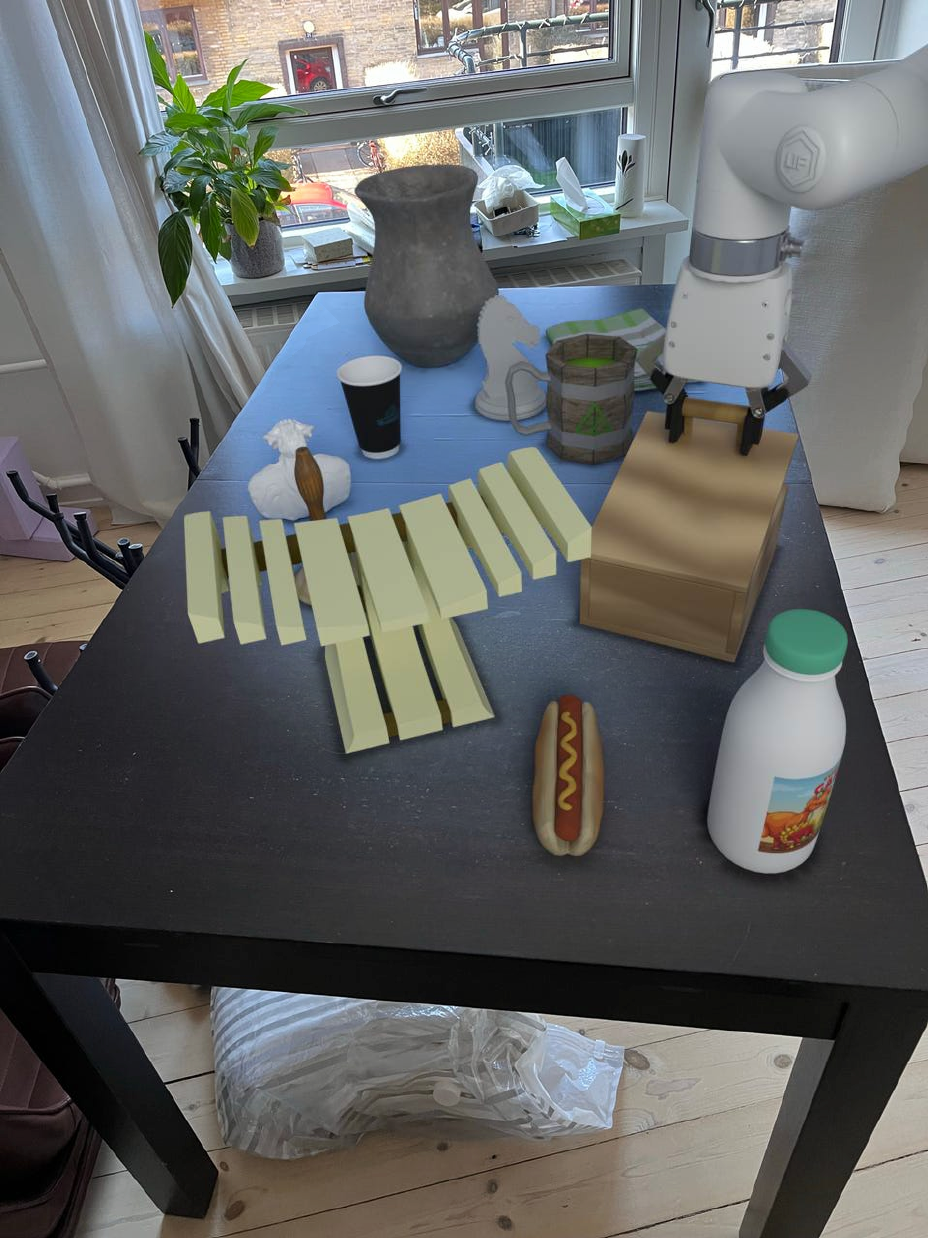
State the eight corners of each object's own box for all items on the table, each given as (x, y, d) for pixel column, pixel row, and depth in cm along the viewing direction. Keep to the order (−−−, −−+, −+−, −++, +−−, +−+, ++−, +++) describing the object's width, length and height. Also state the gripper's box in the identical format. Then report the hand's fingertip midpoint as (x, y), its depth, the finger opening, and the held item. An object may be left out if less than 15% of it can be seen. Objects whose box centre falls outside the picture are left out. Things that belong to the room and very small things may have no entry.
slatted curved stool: (529, 589, 90) (525, 431, 78) (586, 694, 78) (591, 526, 66) (233, 655, 85) (183, 498, 74) (245, 778, 73) (188, 613, 62)
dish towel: (588, 402, 120) (589, 378, 118) (541, 338, 137) (541, 315, 135) (707, 383, 122) (710, 358, 120) (646, 321, 139) (648, 299, 137)
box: (638, 520, 98) (643, 458, 93) (776, 548, 92) (789, 483, 87) (579, 623, 85) (580, 557, 80) (734, 663, 80) (746, 594, 75)
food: (605, 871, 64) (608, 830, 61) (529, 868, 65) (528, 826, 62) (602, 729, 75) (604, 687, 71) (537, 727, 75) (536, 685, 72)
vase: (395, 397, 125) (371, 209, 109) (357, 349, 139) (331, 176, 123) (522, 366, 130) (517, 182, 114) (473, 323, 144) (462, 153, 128)
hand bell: (345, 615, 89) (318, 478, 78) (277, 597, 92) (242, 462, 81) (386, 568, 94) (364, 434, 84) (320, 552, 97) (292, 421, 87)
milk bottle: (709, 872, 64) (748, 671, 51) (702, 788, 69) (736, 588, 56) (821, 882, 62) (890, 678, 50) (805, 795, 68) (863, 592, 55)
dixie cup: (358, 433, 118) (345, 354, 110) (416, 434, 116) (407, 355, 109) (343, 464, 112) (328, 383, 105) (404, 466, 110) (394, 383, 103)
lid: (647, 416, 90) (646, 376, 86) (797, 440, 84) (805, 397, 80) (580, 556, 80) (577, 517, 76) (746, 593, 75) (751, 553, 71)
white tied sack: (356, 509, 108) (333, 418, 107) (362, 501, 100) (337, 403, 99) (258, 531, 105) (234, 438, 105) (256, 525, 98) (230, 425, 97)
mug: (626, 419, 115) (631, 330, 108) (638, 462, 107) (644, 368, 99) (506, 426, 116) (502, 338, 109) (508, 469, 108) (504, 377, 100)
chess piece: (556, 413, 118) (556, 302, 108) (485, 426, 117) (478, 314, 107) (534, 383, 126) (532, 276, 116) (467, 394, 124) (460, 287, 115)
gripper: (854, 243, 72) (812, 439, 84) (649, 226, 79) (636, 410, 90) (839, 275, 67) (796, 479, 79) (621, 254, 74) (611, 445, 85)
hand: (711, 440), depth 85 cm, fingers closed on lid, 6 cm apart
